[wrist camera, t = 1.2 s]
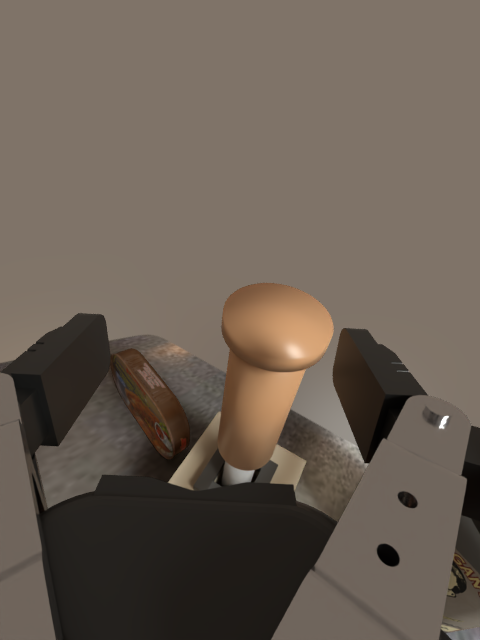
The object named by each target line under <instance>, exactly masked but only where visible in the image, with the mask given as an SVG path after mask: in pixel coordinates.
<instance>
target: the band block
mask: <svg viewBox="0 0 480 640" xmlns="http://www.w3.org/2000/svg"><path fill="white" fill-rule="evenodd" d="M220 417H221V412H218V413H217V415H216V416H215V417H214V419H213V420H212V422H211V423H210V424H209V426H208V427H207V429H206V430H205V431H204V433H203V434H202V436H201V437H200V438H199V440H198V441H197V443H196V444H195V445H194V447H193V448H192V450H191V451H190V452H189V454H188V455H187V457H186V458H185V459H184V461H183V462H182V464H181V465H180V466H179V468H178V469H177V471H176V472H175V473H174V475H173V476H172V478H171V479H170V480H169V482H168V483H171V484H174V485H177V486H180V487H184V488H187V489H190V490H195V491H200V490H206V489H212V488H217V487H222V486H221V481H222V476H223V471H224V465H225V460H224V459H223V457H222V456H221V454H220V452H219V449H218V443H217V440H218V432H219V425H220ZM306 462H307V461H305V460H304V459H302V458H300V457H298V456H297V455H295V454H293V453H291V452H290V451H288V450H286V449H284V448H283V447H281V446H279V445H276V447H275V450H274V452H273V455H272V457H271V459H270V460H269V461H268V463H267V464H266V465H264V466H263V467H261V468H259V469H256V470H255V471H254V474H253V477H252V480H251V482H255V483H274V484H294V491H295V488H296V486H297V484H298V481H299V479H300V476H301V474H302V471H303V469H304V466H305V464H306Z"/></svg>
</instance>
